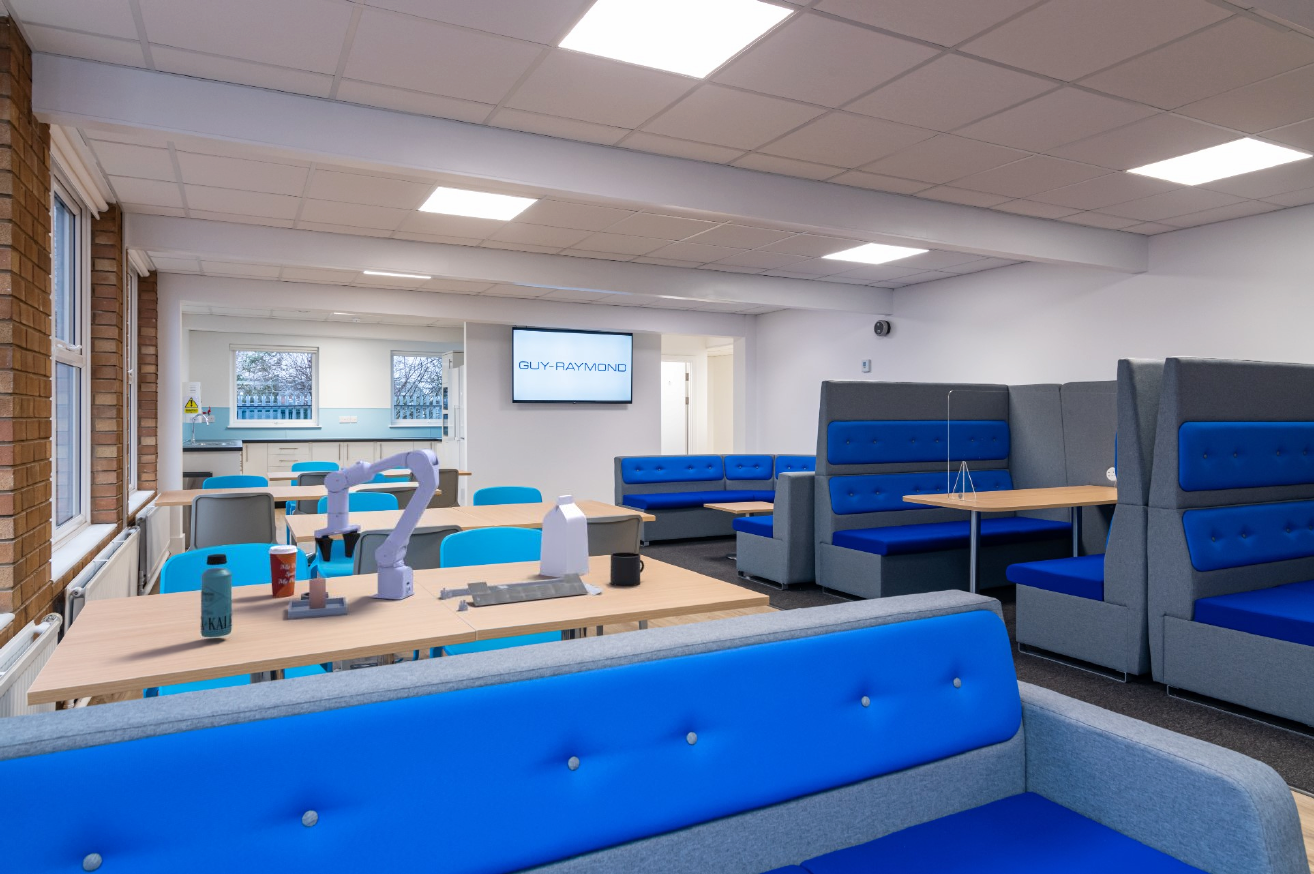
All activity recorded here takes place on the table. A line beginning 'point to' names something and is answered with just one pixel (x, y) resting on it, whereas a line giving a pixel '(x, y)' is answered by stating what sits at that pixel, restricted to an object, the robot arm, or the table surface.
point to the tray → (302, 609)
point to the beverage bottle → (216, 599)
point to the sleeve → (306, 596)
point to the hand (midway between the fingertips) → (337, 559)
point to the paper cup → (283, 570)
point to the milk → (564, 540)
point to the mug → (625, 568)
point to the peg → (317, 593)
